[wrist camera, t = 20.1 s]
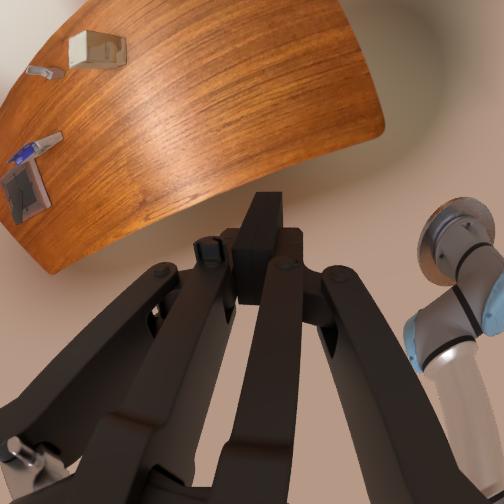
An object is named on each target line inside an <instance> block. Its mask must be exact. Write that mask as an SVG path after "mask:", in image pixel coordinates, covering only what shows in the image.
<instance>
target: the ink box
mask: <svg viewBox="0 0 504 504" xmlns="http://www.w3.org/2000/svg"><path fill="white" fill-rule="evenodd" d="M62 139H63V137H62V133H61V132H58V133H56V134H53V135H50V136H48V137H45V138H43V139H41V140H38V141H35V142H31V143H26V144H25V145H24V146H23V147H22V148H21V149H20V150H19V151H18V152H17V153H16V154H15V155H14V156H13V157H12V158H11V159H10V160H9V161H8V162H7V163H9V162H11V161H15V163H16V165H17V166H19V165H21V164H23V163H25V162H27V161H29V160H31V159H34V158H36V157H38V156H40V155H42V154H43V153H44V152H46V151H47V150H48V149H50V148H51V147H52V146H54V145H55V144H57V143H58V142H60V141H61V140H62ZM22 150H23V151H22ZM21 151H22V152H21ZM18 153H19V154H18ZM7 163H6V164H7Z"/></svg>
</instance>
